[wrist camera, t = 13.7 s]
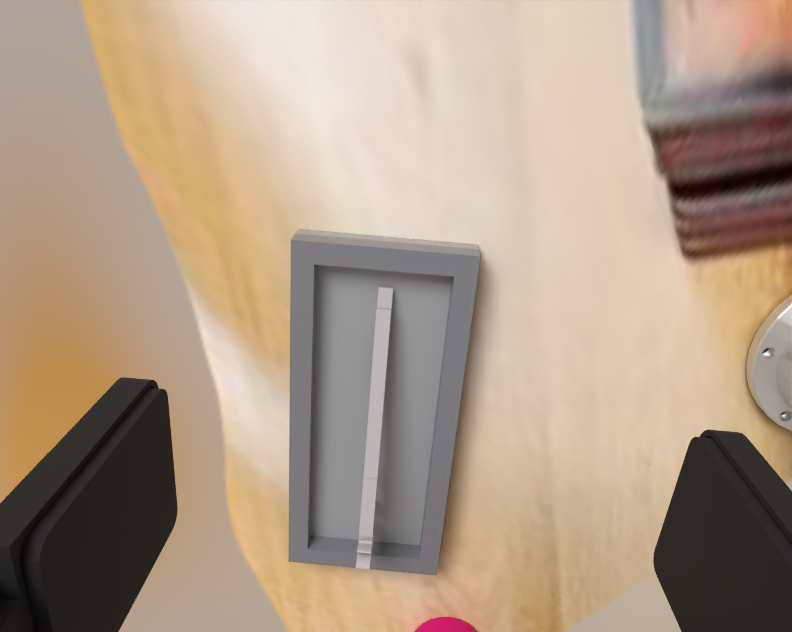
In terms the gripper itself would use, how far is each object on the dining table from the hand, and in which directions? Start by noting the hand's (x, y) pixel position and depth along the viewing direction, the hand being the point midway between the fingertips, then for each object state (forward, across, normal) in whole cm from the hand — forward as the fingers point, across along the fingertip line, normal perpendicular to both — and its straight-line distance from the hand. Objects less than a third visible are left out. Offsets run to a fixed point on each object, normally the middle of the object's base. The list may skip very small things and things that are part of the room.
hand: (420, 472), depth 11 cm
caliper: (+30, +2, +18) cm, 35 cm away
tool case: (+30, +2, +18) cm, 35 cm away
